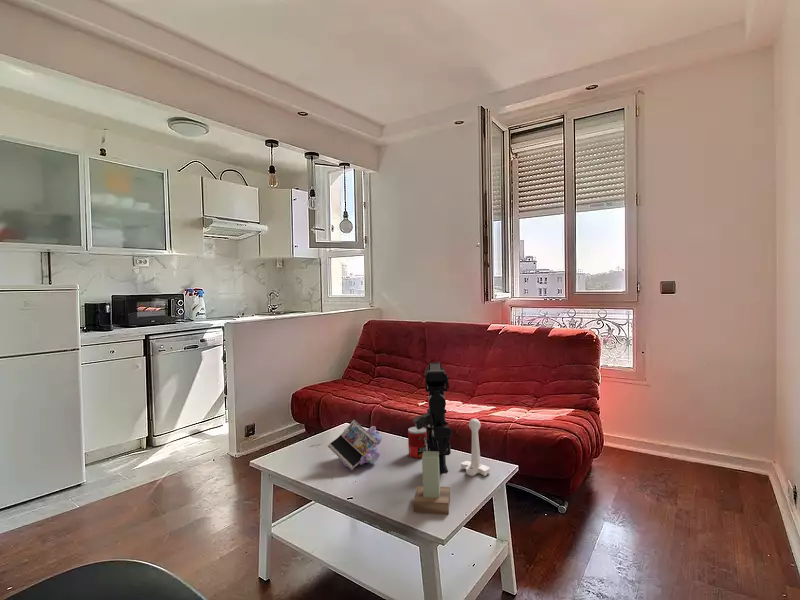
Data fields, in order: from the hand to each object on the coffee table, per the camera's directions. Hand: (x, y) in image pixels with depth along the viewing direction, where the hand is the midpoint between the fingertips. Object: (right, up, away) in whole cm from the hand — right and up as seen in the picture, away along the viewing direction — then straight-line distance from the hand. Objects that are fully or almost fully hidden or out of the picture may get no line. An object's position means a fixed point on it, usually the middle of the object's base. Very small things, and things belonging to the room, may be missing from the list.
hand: (438, 451), depth 151 cm
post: (-3, -10, -12) cm, 16 cm away
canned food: (-6, -13, +30) cm, 33 cm away
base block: (-3, -13, -12) cm, 18 cm away
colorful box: (-31, -14, +25) cm, 42 cm away
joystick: (+15, -12, +11) cm, 22 cm away
